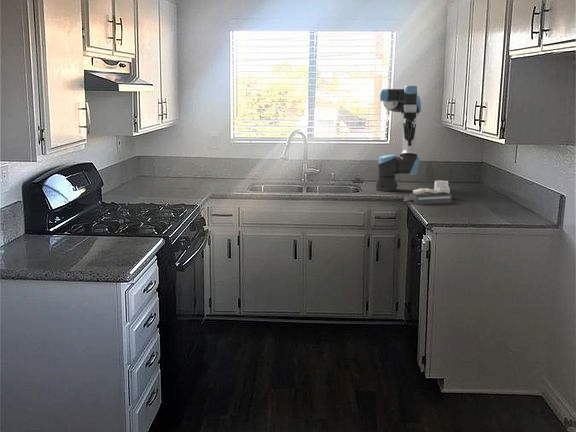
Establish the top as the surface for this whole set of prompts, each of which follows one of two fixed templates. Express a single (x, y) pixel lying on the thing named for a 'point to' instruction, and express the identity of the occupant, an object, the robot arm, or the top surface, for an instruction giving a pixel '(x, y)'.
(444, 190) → the rocker
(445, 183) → the mug
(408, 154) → the robot arm
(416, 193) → the rocker
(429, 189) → the rocker
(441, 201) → the power strip
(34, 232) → the top surface
